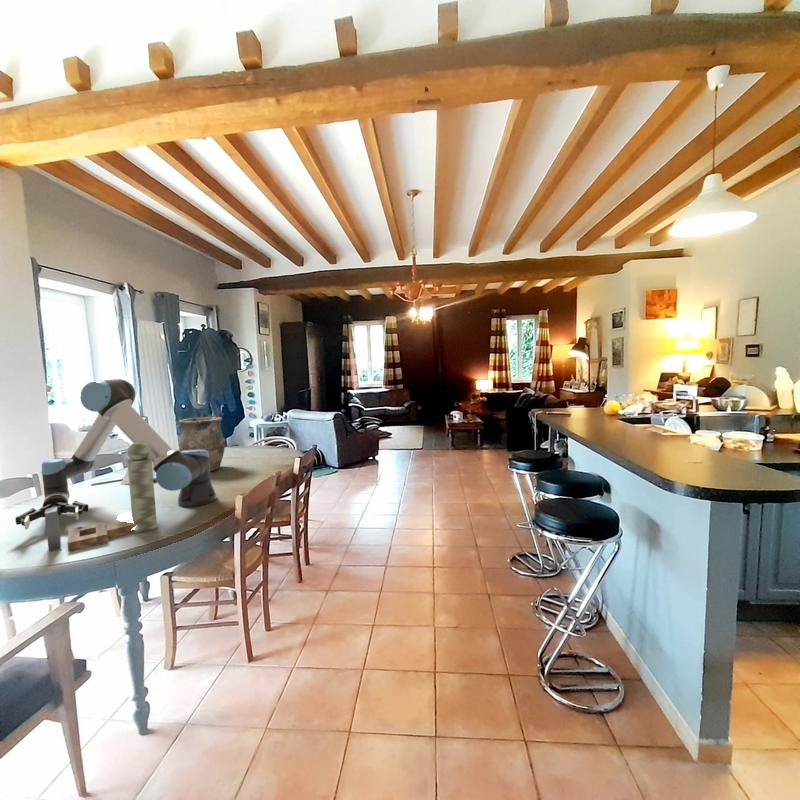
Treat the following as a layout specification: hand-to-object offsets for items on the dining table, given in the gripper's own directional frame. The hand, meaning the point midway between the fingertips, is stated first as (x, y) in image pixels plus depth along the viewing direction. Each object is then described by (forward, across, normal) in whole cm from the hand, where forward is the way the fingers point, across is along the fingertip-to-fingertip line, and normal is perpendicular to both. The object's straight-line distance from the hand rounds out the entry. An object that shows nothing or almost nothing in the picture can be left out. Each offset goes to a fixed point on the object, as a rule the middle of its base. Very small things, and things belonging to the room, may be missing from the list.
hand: (52, 520), depth 143 cm
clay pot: (-68, -63, -8) cm, 93 cm away
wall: (-68, -32, -8) cm, 75 cm away
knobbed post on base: (+7, -17, -8) cm, 20 cm away
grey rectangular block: (+7, 0, -8) cm, 10 cm away
